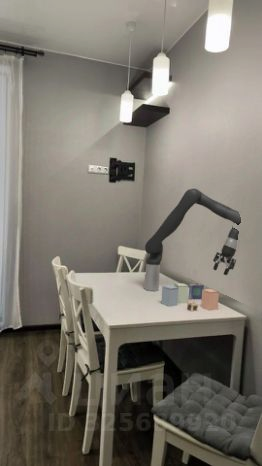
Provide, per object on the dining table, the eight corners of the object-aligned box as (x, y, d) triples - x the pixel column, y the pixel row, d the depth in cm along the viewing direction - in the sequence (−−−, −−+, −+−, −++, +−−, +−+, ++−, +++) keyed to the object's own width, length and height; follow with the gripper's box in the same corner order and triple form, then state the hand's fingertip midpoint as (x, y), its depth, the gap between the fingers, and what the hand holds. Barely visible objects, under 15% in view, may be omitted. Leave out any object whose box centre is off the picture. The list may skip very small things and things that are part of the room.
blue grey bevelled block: (161, 303, 182) (162, 286, 181) (169, 302, 186) (170, 285, 185) (169, 306, 177) (170, 288, 176) (177, 305, 181) (178, 287, 180)
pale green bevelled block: (173, 299, 191) (174, 283, 190) (183, 299, 193) (184, 283, 192) (177, 303, 185) (178, 286, 184) (187, 303, 186) (188, 286, 186)
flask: (189, 299, 194) (190, 282, 193) (187, 298, 197) (188, 281, 196) (203, 299, 196) (204, 282, 196) (201, 298, 199) (202, 281, 199)
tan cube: (186, 309, 174) (187, 302, 173) (192, 309, 176) (193, 301, 175) (191, 312, 170) (192, 304, 170) (197, 311, 172) (198, 304, 172)
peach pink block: (200, 307, 180) (202, 289, 179) (209, 306, 183) (211, 288, 182) (208, 310, 174) (210, 292, 174) (217, 309, 177) (219, 291, 177)
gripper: (217, 241, 189) (207, 266, 190) (235, 248, 177) (224, 275, 178) (225, 245, 193) (215, 269, 194) (243, 251, 181) (232, 278, 182)
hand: (219, 272), depth 186 cm, fingers open, 8 cm apart
